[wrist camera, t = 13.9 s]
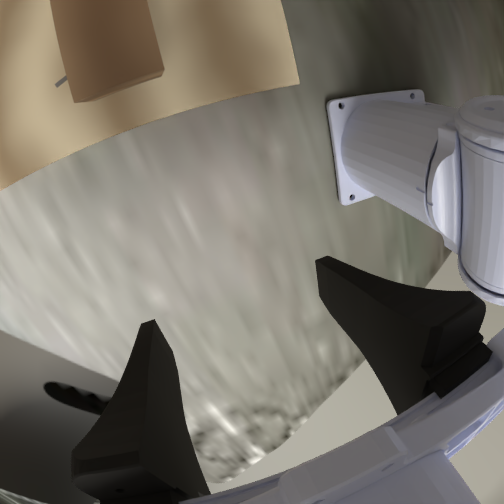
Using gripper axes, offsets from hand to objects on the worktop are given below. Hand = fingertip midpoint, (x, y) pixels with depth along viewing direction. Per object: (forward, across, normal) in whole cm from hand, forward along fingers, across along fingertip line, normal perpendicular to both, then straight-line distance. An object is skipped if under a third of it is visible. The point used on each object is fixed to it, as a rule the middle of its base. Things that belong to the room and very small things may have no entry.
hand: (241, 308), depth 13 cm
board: (+9, +2, -14) cm, 17 cm away
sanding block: (+8, +2, -14) cm, 16 cm away
